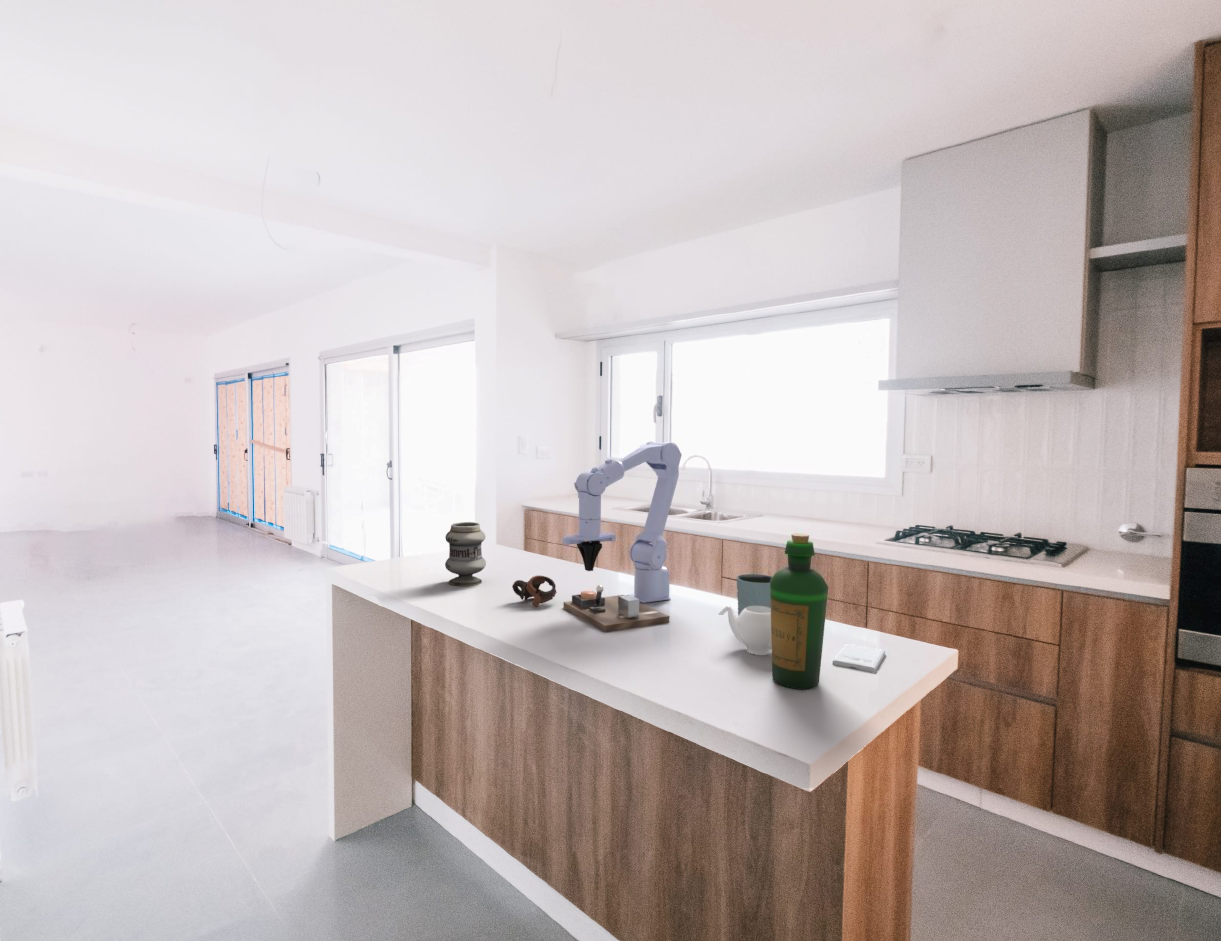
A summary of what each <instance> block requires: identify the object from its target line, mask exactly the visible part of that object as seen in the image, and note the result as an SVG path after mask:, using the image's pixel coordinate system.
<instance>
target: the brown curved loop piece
mask: <svg viewBox="0 0 1221 941" xmlns="http://www.w3.org/2000/svg"><path fill="white" fill-rule="evenodd" d="M545 583H547V584H548V585H549V586H551V589H549V590H548V591H545V590H542V589H540V587H541V585H544V584H545ZM511 587H512V590H513V592H514V594H515V595H517V596H518V597H519V598H520V600H524V601H526V600H528V599H530V598H533V600H532V602H531V605H532V606H534V607H536V608H538V607H539V606H540V605H541V604H543V603H544V604H545V603H548V602H550V601H551V600H553V598H555V597H556V594H557V593H558V592H557V589H556V587H557V586H556V583H555V581H554V580H553V579H552V578H550V577H548V576H545V575H534V576H532V577H531V578H530V579H529V580H528V581H524V580H520V579H518V580H515V581H514V582H513V584H512V586H511Z"/></svg>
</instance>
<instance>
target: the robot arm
mask: <svg viewBox="0 0 1221 941" xmlns="http://www.w3.org/2000/svg"><path fill="white" fill-rule="evenodd" d="M681 459H682V453H681V451H680V449H679V447H678V445H677V444H676V443H674V442H654V441H649V442H646V443H645V444H641V445H640V446H639V448H637V449H635V450H634V451H632V452H630V453H629V454H627V455H625V456H624V457H623V458H621V459H619V460H617V459H611V458H608V459H605V460H604V463H603V464H600V465H599V466H597V467H596V466H595V467H592V468H591V470H590V472H588V471H584V472H581V473H580V474H579V475H578V476H577V478H576V481H575V482H574V484H573V485H574V488H575V490H576V492H577V499H578V534H573V535H566V536H562V545H564V546H570V545H576V546H577V548H578V550H579V552H580V554H581V555H580V556H581V558H582V561H583V564H584V570H585V571H587V572H594V567H595V563H596V560H597V558H598V556H599V553H600V552H601V550H602V548H603V543H604V542H616V533H613V532H608V533H606V532H605V533H604V532H603V533H601V532H602V530H601V526H602V524H601V523H602V521H601V520H602V518H601V516H602V495H603V494H604V493H605V491H606V489H607V488H608V487H610V486H611V485H613V484H614V483H616V482H618V481H620V480H622V479H623V478H624V476H625V472H627V471H629V470H631V469H633V468H636V467H637V466H641V465H642V464H644V463H646V464H647V465H648V467H649V468H650V469H651V470H652V471H653V472H654V473H655V474H656V476H657V481H656V483H655V488H654V490H653V491H654V492H653V495H652V498H651V503H650V505H649V509H648V513H647V516H646V519H645V524H644V528H643V531H640V532H639V533H638V534H637V535H636V536H635V540H634V542H633V543H632V544H631V546H630V548H629V551H628V552H629V553H628V554H629V559H630V561H632V563H633V567H634V581H633V583H634V584H633V593H632V594H631V593H630V594H629V595H630V596H632V597H635V598H637V599H639V603H642V604H644V603H651V602H652V603H653V602H659V601H666V600H667V601H668V600H671V599H672V598H671V597H670V573H669V570H668V568H667V567H666V566H664V565H665V564H666V561H667V547H668V542H667V541H666V540H665V538H664V532H665V528H666V523H667V520H668V517H669V513H670V509H671V506H672V501H673V499H674V498H673V497H674V495H675V491H676V487H677V483H678V480H679V475H680V474H679V469H680V462H681ZM602 542H603V543H602Z"/></svg>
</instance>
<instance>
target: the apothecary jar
mask: <svg viewBox="0 0 1221 941" xmlns="http://www.w3.org/2000/svg"><path fill="white" fill-rule="evenodd" d="M485 540H486V534H485V532H484V531H483V530H481V526H480V523H479V522H471V521H464V522H463V521H461V522H454V523H452V524H451V526H450V530H449V531H448V532H447V533H446V534H445V541H446V542H447V543H448V544H449V545H448V546H449V553H448V554H449V556H448V558H447V559H446V560H445V563H444V566H445V569H446V570H447V571H449V572H450V573H452V574H455V575H458V576H455V577H454V578H451V579H449V580H448V584H449V585H451V586H460V587H472V586H477V585H480V584H482V582H483V580H482V579H481V578H478V577H477V576H475V574H478V573H479V572H481V571H483V570H484V569H485V568H486V565H487V564H486V563H487V562H486V559H485V558H484V557H483V555H482V543H483V542H484V541H485Z"/></svg>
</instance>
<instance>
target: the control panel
mask: <svg viewBox="0 0 1221 941" xmlns="http://www.w3.org/2000/svg"><path fill="white" fill-rule="evenodd" d="M596 595H597V593H596ZM618 596H624V594H618V595H611V596H604V597H603V596H601V601H600V603H601V604H602V606H601V607H593V604H596V603H595V602H596V598H594V599H586V600H584V599H582V598H581V593H578V594H572V595H571V600H570V601H564V602H563V609H565V610H567V611H569V612H571V613H572V614H573V615H575V616H577V617H579V618H580V619H582V620H584V621H585V622H586V623H589V624H590V625H592V626H594V627H596V628H597V629H599V630H601V631H603V632H605V633H607V632H614V631H620V630H628V629H632V628H639V627H645V626H654V625H660V624H666V622H667V623H670V615H668V614H665V613H663V612H661V611H659V610H656V609H655V608H652V607H650V606H648V605H646V604H644V603H641V602H639V617H633V618H627V617H625V616H623V615H621V614H619V613H618Z"/></svg>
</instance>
